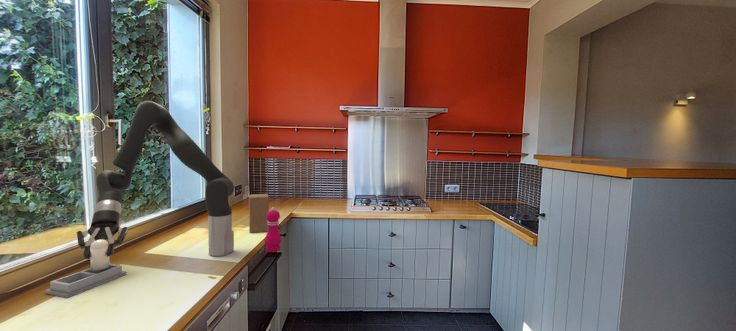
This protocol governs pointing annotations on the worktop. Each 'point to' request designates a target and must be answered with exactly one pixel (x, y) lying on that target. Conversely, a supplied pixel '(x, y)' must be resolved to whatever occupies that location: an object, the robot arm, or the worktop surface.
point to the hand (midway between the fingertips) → (98, 256)
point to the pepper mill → (273, 231)
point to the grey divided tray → (83, 281)
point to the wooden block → (258, 213)
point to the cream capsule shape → (99, 255)
